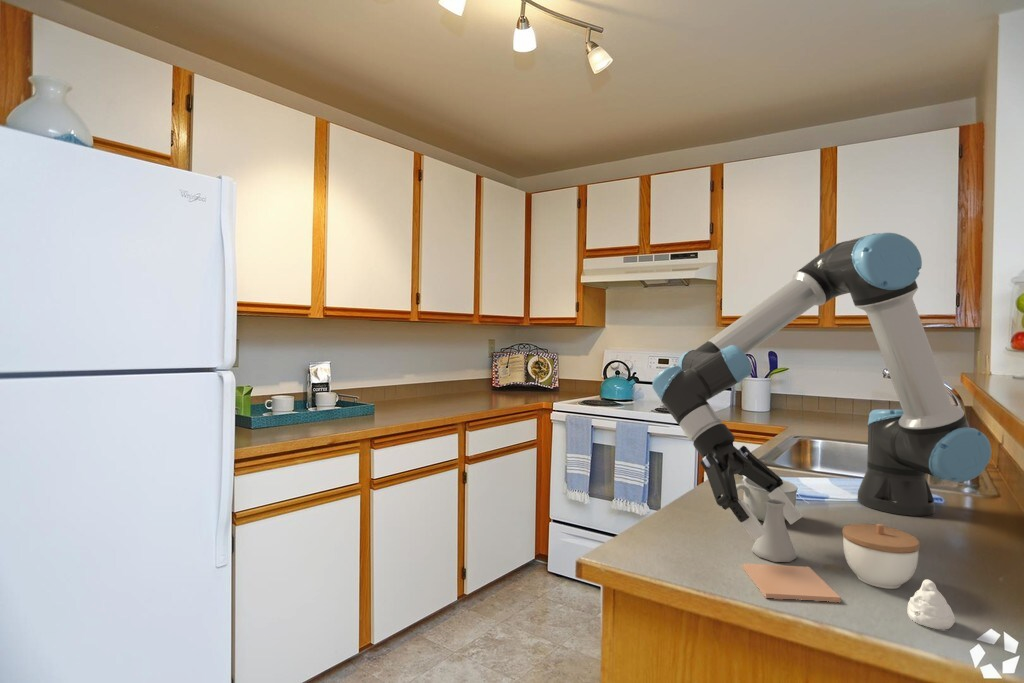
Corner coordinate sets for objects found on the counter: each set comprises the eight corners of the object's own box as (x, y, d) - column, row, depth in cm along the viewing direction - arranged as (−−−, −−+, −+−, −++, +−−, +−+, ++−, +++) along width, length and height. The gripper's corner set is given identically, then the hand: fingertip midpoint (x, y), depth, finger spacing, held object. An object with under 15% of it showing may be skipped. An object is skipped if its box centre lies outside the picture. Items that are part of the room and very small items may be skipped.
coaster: (808, 571, 97) (809, 566, 97) (840, 602, 86) (840, 597, 86) (742, 568, 98) (742, 563, 98) (765, 598, 87) (765, 593, 87)
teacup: (785, 511, 129) (786, 476, 129) (804, 528, 118) (806, 490, 118) (722, 508, 130) (723, 474, 130) (736, 525, 119) (737, 487, 119)
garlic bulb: (903, 570, 84) (947, 576, 82) (902, 609, 84) (946, 616, 82) (915, 585, 79) (962, 592, 77) (913, 628, 79) (961, 636, 77)
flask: (743, 551, 106) (745, 498, 105) (772, 545, 108) (773, 494, 108) (775, 566, 99) (777, 509, 99) (804, 560, 102) (806, 505, 101)
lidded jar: (890, 601, 87) (892, 540, 87) (826, 572, 97) (828, 518, 96) (933, 588, 91) (935, 531, 91) (868, 562, 101) (869, 511, 101)
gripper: (728, 437, 124) (795, 524, 112) (658, 451, 108) (728, 554, 97) (752, 416, 119) (824, 504, 108) (682, 428, 104) (758, 532, 93)
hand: (779, 528), depth 103 cm, fingers open, 13 cm apart
